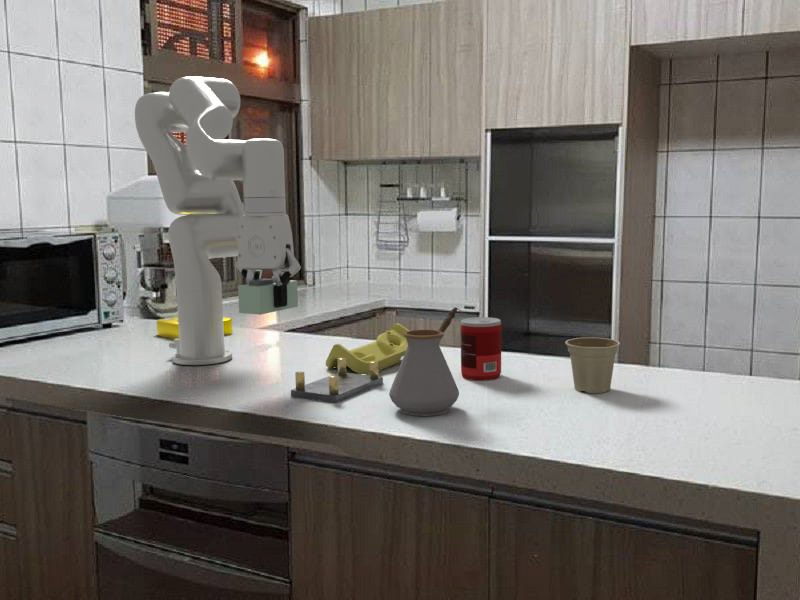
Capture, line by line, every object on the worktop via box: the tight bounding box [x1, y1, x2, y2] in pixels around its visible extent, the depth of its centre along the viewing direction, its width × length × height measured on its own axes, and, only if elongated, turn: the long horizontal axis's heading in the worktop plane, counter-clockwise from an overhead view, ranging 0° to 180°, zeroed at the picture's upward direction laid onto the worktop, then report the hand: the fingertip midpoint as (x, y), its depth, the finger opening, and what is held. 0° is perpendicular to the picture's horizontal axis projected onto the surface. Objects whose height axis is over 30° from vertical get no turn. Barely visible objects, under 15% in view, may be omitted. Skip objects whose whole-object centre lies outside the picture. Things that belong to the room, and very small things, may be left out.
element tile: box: [156, 316, 233, 340], centre depth 206 cm, size 15×15×5 cm
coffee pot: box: [389, 306, 463, 417], centre depth 133 cm, size 21×12×15 cm, turn 155°
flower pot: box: [565, 336, 621, 394], centre depth 140 cm, size 9×9×9 cm
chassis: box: [290, 358, 384, 404], centre depth 144 cm, size 10×16×4 cm, turn 150°
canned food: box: [460, 316, 502, 382], centre depth 152 cm, size 8×8×11 cm
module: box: [237, 275, 299, 316], centre depth 147 cm, size 5×11×6 cm, turn 150°
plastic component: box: [325, 323, 411, 375], centre depth 165 cm, size 20×7×10 cm
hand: (268, 304), depth 147 cm, fingers closed on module, 5 cm apart
